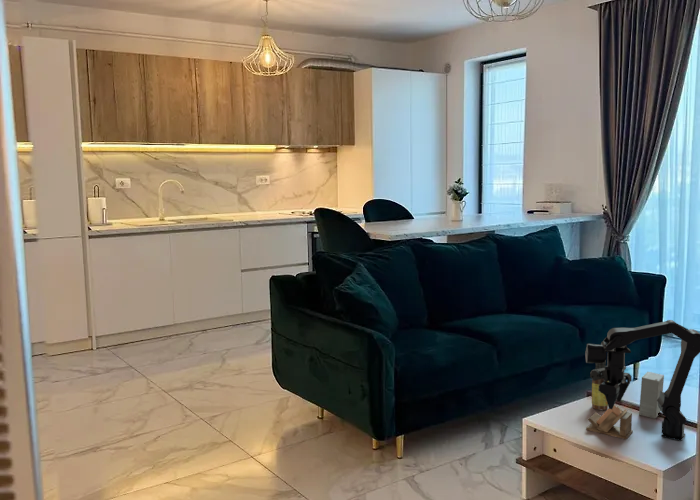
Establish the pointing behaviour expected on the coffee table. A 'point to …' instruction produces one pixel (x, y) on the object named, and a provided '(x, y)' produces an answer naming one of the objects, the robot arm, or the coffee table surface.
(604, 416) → the peg
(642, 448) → the coffee table surface
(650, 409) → the skincare box
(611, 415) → the cradle
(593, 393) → the sauce bottle
